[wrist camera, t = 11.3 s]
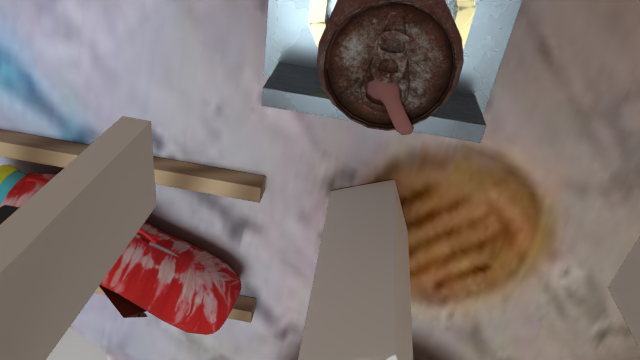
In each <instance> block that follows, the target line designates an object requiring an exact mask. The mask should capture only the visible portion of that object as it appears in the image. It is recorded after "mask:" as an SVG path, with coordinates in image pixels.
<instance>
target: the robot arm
mask: <svg viewBox="0 0 640 360" xmlns="http://www.w3.org/2000/svg"><path fill="white" fill-rule="evenodd" d="M156 206H157V205H156V190H155V175H154V160H153V145H152V130H151V121H147V120H142V119H136V118H130V117H125V116H122V117H121V118H120V119H119V120H118V121H117V122H116V123H114V124H113V125H112V126H111V127H110V128H109V129H108V130H107V131H105V132H104V133H103V134H102V135H101V136H100V137H99V138H97V139H96V140H95V141H94V142H93V143H92V144H91V145H90V146H88V147H87V148H86V149H85V150H84V151H83V152H82V153H81V154H79V155H78V156H77V157H76V158H75V159H74V160H73V161H72V162H70V163H69V164H68V165H67V166H66V167H65V168H64V169H63V170H61V171H60V172H59V173H58V174H57V175H56V176H55V177H54V178H52V179H51V180H50V181H49V182H48V183H47V184H46V185H45V186H43V187H42V188H41V189H40V190H39V191H38V192H37V193H35V194H34V195H33V196H32V197H31V198H30V199H29V200H28V201H26V202H25V203H24V204H23V205H22V206H21V207H15V206H9V205H4V206H2V207H0V360H46V359H47V357H48V356H49V354H50V353H51V352H52V350H53V349H54V347H55V346H56V344H57V343H58V342H59V340H60V339H61V338H62V336H63V335H64V334H65V332H66V331H67V329H68V328H69V327H70V325H71V324H72V322H73V321H74V320H75V318H76V317H77V316H78V314H79V313H80V311H81V310H82V309H83V307H84V306H85V304H86V303H87V302H88V300H89V299H90V297H91V296H92V295H93V293H94V292H95V291H96V289H97V288H98V286H99V285H100V284H101V282H102V281H103V279H104V278H105V277H106V275H107V274H108V272H109V271H110V270H111V268H112V267H113V265H114V264H115V263H116V261H117V260H118V259H119V257H120V256H121V254H122V253H123V252H124V250H125V249H126V247H127V246H128V245H129V243H130V242H131V240H132V239H133V238H134V236H135V235H136V234H137V232H138V231H139V229H140V228H141V227H142V225H143V224H144V222H145V221H146V220H147V218H148V217H149V215H150V214H151V213H152V211H153V210H154V208H155V207H156ZM608 289H609V291H610V293H611V295H612V297H613V299H614V301H615V303H616V305H617V307H618V308H619V310H620V312H621V314H622V316H623V318H624V320H625V322H626V324H627V326H628V328H629V330H630V332H631V333H632V335H633V337H634V339H635V341H636V343H637V345H638V347H639V349H640V237H639V238H638V240H637V241H636V243H635V245H634V246H633V248H632V249H631V251H630V253H629V254H628V256H627V258H626V259H625V261H624V262H623V264H622V266H621V267H620V269H619V270H618V272H617V274H616V275H615V277H614V279H613V280H612V282H611V283H610V285H609V287H608Z"/></svg>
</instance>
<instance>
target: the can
mask: <svg viewBox="0 0 640 360" xmlns="http://www.w3.org/2000/svg"><path fill="white" fill-rule="evenodd" d="M463 63H464V56H463V43H462V37H461V35H460V32H459V30H458V28H457V26H456V23H455V21H454V19H453V16H452V14H451V12H450V10H449V7H448V5H447V3H446V1H445V0H337V2H336V4H335V6H334V9H333V11H332V13H331V15H330V18H329V20H328V22H327V24H326V27H325V29H324V31H323V33H322V36H321V38H320V40H319V44H318V54H317V69H318V73H319V77H320V82H321V86H322V87H323V89H324V91H325V92H326V94H327V96H328V98H329V99H330V101H331V103H332V104H333V105H334V106H335V107H337V108H338V109H339V110H340V111H341V112H342V113H343V114H344V115H346V116H347V117H348V118H349V119H350V120H352V121H354V122H357V123H359V124H361V125H363V126H365V127H367V128H372V129H380V130H387V131H389V130H396V131H397V132H399V133H400V134H402V135H406V134H410V133H412V132H413V129H414V126H413V125H415V124H417V123H419V122H422V121H424V120H426V119H427V118H428V117H430V116H431V115H432V114H433V113H435V112H436V111H437V110H438V109H439V108H440V107H442V106H443V105H444V104H445V103H446V102H447V100H448V99H449V97H450V96H451V94H452V92H453V91H454V89H455V88H456V86H457V85H458V82H459V78H460V75H461V71H462V67H463Z"/></svg>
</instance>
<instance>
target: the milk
mask: <svg viewBox="0 0 640 360" xmlns="http://www.w3.org/2000/svg"><path fill="white" fill-rule="evenodd" d="M298 360H413V344H412V320H411V296H410V272H409V248H408V230H407V226H406V222H405V218H404V214H403V210H402V206H401V203H400V199H399V195H398V191H397V187H396V183H395V180H388V181H382V182H377V183H371V184H366V185H360V186H355V187H349V188H344V189H338V190H333V191H331V193H330V198H329V203H328V208H327V213H326V219H325V224H324V229H323V234H322V239H321V244H320V249H319V254H318V260H317V265H316V270H315V275H314V280H313V285H312V290H311V295H310V301H309V306H308V311H307V316H306V321H305V326H304V331H303V336H302V342H301V347H300V352H299V357H298Z"/></svg>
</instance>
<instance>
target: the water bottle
mask: <svg viewBox="0 0 640 360" xmlns="http://www.w3.org/2000/svg"><path fill="white" fill-rule="evenodd" d="M56 175H57V174H50V173H41V174H37V173H29V174H25V173H23V172H21V171H20V170H19V169H17V168H15V167H13V166H11V165H2V166H0V207H2V206H4V205H9V206H15V207H21V206H22V205H23V204H24V203H25V202H26V201H28V200H29V199H30V198H31V197H32V196H33V195H34V194H35V193H37V192H38V191H39V190H40V189H41V188H42V187H43V186H45V185H46V184H47V183H48V182H49V181H50V180H51V179H52V178H54V177H55V176H56ZM99 287H100V288H101V289H102V290H103V292H104V293H105V294H106V296H107V297H108V298H109V299H110V301H111V302H112V303H113V305H114V306H115V307H116V308H117V310H118V311H119V312H120V314H121V315H122V316H123V317H124V318H127V317H147V315H146V314H145V313H144V312H145V311H148V312H149V313H151V314H153V315H154V316H156V317H158V318H159V319H161V320H163V321H164V322H166V323H169V324H171V325H173V326H175V327H177V328H179V329H181V330H183V331H185V332H188V333H196V334H204V335H207V334H213V333H215V332H216V331H218V330H219V329H220V328H221V326H222V325H223V324H224V322H225V321H226V319H227V318H228V316H229V314H230V312H231V311H232V309H233V307H234V305H235V303H236V301H237V299H238V296H239V293H240V290H241V281H240V279H239V277H238V275H237V274H236V273H235V272H234V271H233V270H232V269H231V268H230V266H229V265H228V264H227V263H226V262H224V261H222V260H221V259H219V258H217V257H215V256H214V255H212V254H210V253H208V252H207V251H205V250H203V249H201V248H198V247H196V246H194V245H192V244H190V243H188V242H185V241H183V240H181V239H179V238H177V237H174V236H172V235H170V234H168V233H166V232H163V231H161V230H159V229H157V228H155V227H154V226H152V225H150V224H148V223H146V222H144V224H143V225H142V227H141V228H140V229H139V231H138V232H137V234H136V235H135V236H134V238H133V239H132V240H131V242H130V243H129V245H128V246H127V247H126V249H125V250H124V252H123V253H122V254H121V256H120V257H119V259H118V260H117V261H116V263H115V264H114V265H113V267H112V268H111V270H110V271H109V272H108V274H107V275H106V277H105V278H104V279H103V281H102V282H101V284H100V285H99Z"/></svg>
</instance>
